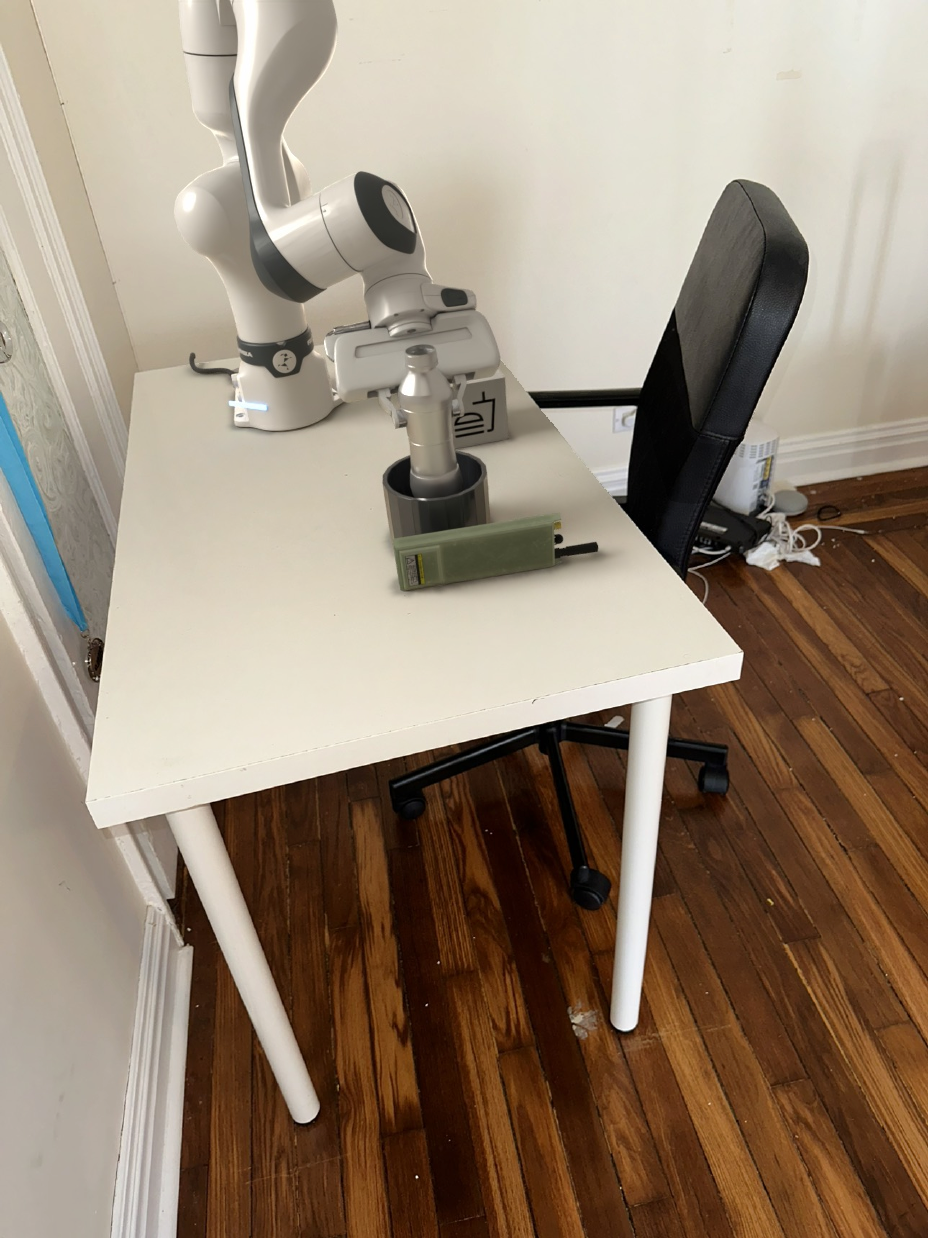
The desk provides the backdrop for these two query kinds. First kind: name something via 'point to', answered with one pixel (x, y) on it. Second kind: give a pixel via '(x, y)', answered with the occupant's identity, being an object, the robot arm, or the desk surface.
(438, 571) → the handheld radio
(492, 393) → the icon cube
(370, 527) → the desk surface
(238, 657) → the desk surface
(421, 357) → the metal bottle
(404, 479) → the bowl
